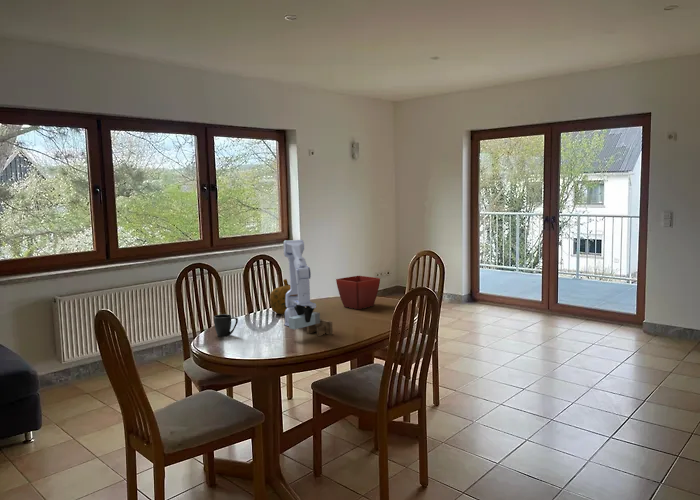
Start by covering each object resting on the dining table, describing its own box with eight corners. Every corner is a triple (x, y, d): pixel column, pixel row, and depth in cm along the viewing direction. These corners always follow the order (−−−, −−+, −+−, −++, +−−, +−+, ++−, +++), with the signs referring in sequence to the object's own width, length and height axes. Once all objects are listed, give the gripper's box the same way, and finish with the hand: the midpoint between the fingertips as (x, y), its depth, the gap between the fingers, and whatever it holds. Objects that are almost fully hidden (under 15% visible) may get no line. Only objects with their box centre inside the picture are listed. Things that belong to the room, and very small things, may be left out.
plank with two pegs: (303, 332, 264) (302, 320, 264) (312, 329, 269) (312, 317, 268) (323, 336, 255) (322, 324, 254) (332, 334, 259) (332, 321, 259)
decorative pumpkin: (311, 313, 301) (306, 278, 299) (273, 319, 296) (268, 283, 294) (305, 307, 320) (301, 274, 319) (270, 313, 315) (265, 279, 314)
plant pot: (359, 302, 333) (358, 275, 332) (381, 306, 319) (381, 278, 318) (335, 307, 320) (335, 279, 319) (358, 311, 306) (357, 282, 305)
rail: (294, 329, 248) (294, 318, 248) (289, 328, 251) (288, 317, 250) (320, 323, 260) (319, 312, 259) (314, 321, 262) (314, 311, 262)
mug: (233, 338, 256) (232, 318, 255) (211, 337, 260) (210, 317, 259) (242, 333, 264) (241, 314, 263) (220, 332, 268) (219, 313, 267)
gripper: (287, 292, 256) (288, 320, 257) (307, 295, 246) (308, 325, 247) (298, 290, 261) (299, 318, 262) (319, 293, 251) (320, 322, 252)
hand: (304, 321), depth 255 cm, fingers closed on rail, 4 cm apart
